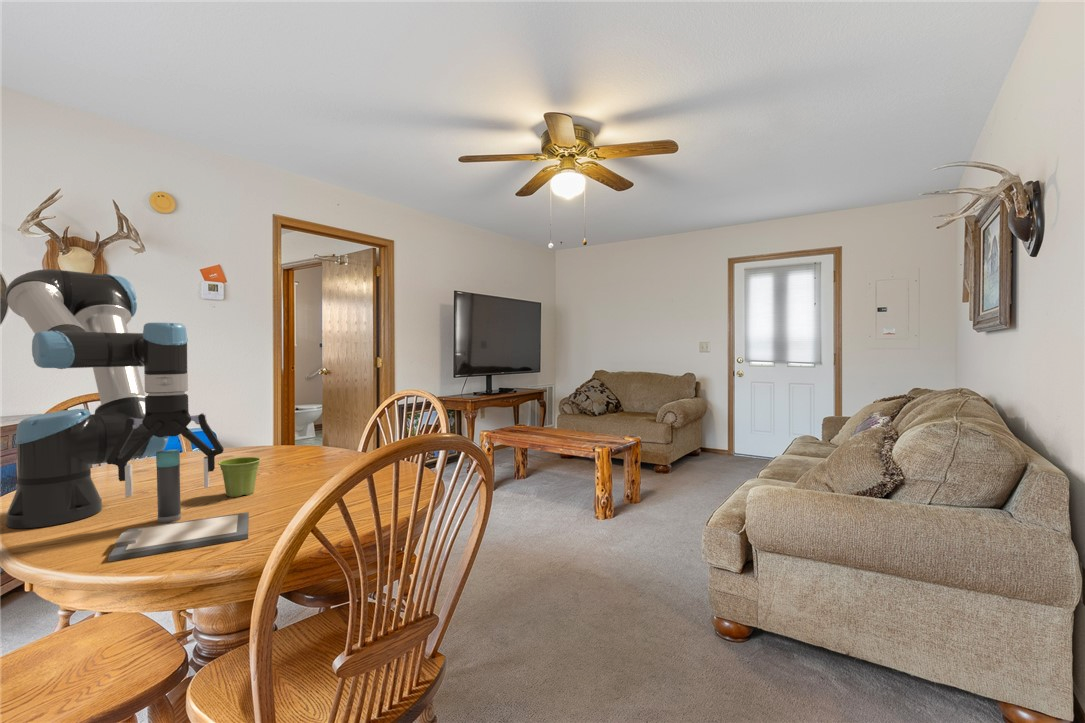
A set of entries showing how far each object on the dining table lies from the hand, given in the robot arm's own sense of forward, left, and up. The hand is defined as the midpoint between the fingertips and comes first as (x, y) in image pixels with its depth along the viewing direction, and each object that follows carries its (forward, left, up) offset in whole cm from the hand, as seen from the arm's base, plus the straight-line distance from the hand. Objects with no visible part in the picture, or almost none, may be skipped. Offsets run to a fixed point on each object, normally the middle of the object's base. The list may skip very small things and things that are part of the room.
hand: (169, 491), depth 108 cm
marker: (0, 0, -6) cm, 6 cm away
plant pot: (+13, +15, -7) cm, 21 cm away
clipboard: (+4, -14, -6) cm, 16 cm away
